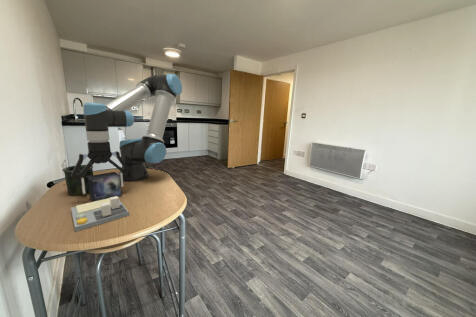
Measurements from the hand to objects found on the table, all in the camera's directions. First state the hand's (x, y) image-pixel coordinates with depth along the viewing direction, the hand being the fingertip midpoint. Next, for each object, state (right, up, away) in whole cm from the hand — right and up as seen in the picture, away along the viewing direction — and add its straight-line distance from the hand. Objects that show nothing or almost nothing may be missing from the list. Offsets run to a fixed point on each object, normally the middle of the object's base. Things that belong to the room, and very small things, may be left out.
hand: (104, 189), depth 81 cm
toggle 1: (+13, -6, -17) cm, 22 cm away
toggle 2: (+13, -5, -12) cm, 18 cm away
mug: (-14, -3, +5) cm, 15 cm away
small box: (0, -4, +1) cm, 4 cm away
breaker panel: (+8, -7, -13) cm, 16 cm away
